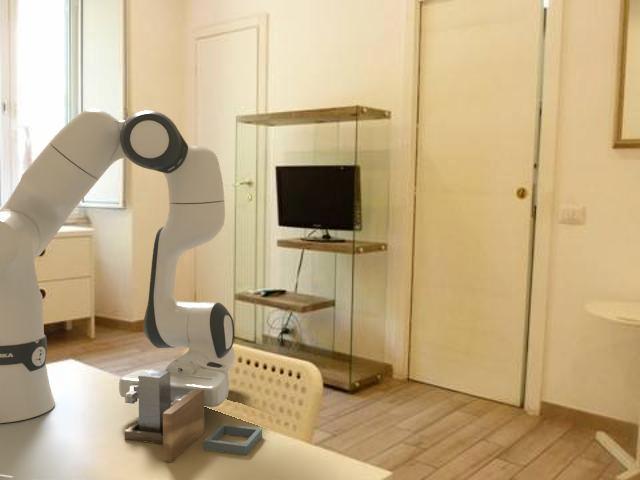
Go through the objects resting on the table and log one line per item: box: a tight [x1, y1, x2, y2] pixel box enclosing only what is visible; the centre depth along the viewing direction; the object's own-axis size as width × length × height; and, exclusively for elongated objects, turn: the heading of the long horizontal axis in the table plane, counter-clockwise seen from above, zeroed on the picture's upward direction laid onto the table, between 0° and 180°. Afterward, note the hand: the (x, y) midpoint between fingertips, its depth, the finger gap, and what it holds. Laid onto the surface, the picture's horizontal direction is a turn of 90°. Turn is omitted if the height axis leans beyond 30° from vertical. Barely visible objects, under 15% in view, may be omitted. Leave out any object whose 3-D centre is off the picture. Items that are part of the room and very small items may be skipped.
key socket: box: [123, 420, 163, 445], centre depth 109 cm, size 8×8×2 cm
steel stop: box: [138, 368, 172, 434], centre depth 109 cm, size 4×4×11 cm
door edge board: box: [162, 389, 205, 463], centre depth 104 cm, size 2×12×8 cm, turn 166°
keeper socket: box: [203, 423, 263, 456], centre depth 106 cm, size 8×8×2 cm
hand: (152, 402), depth 108 cm, fingers open, 8 cm apart
